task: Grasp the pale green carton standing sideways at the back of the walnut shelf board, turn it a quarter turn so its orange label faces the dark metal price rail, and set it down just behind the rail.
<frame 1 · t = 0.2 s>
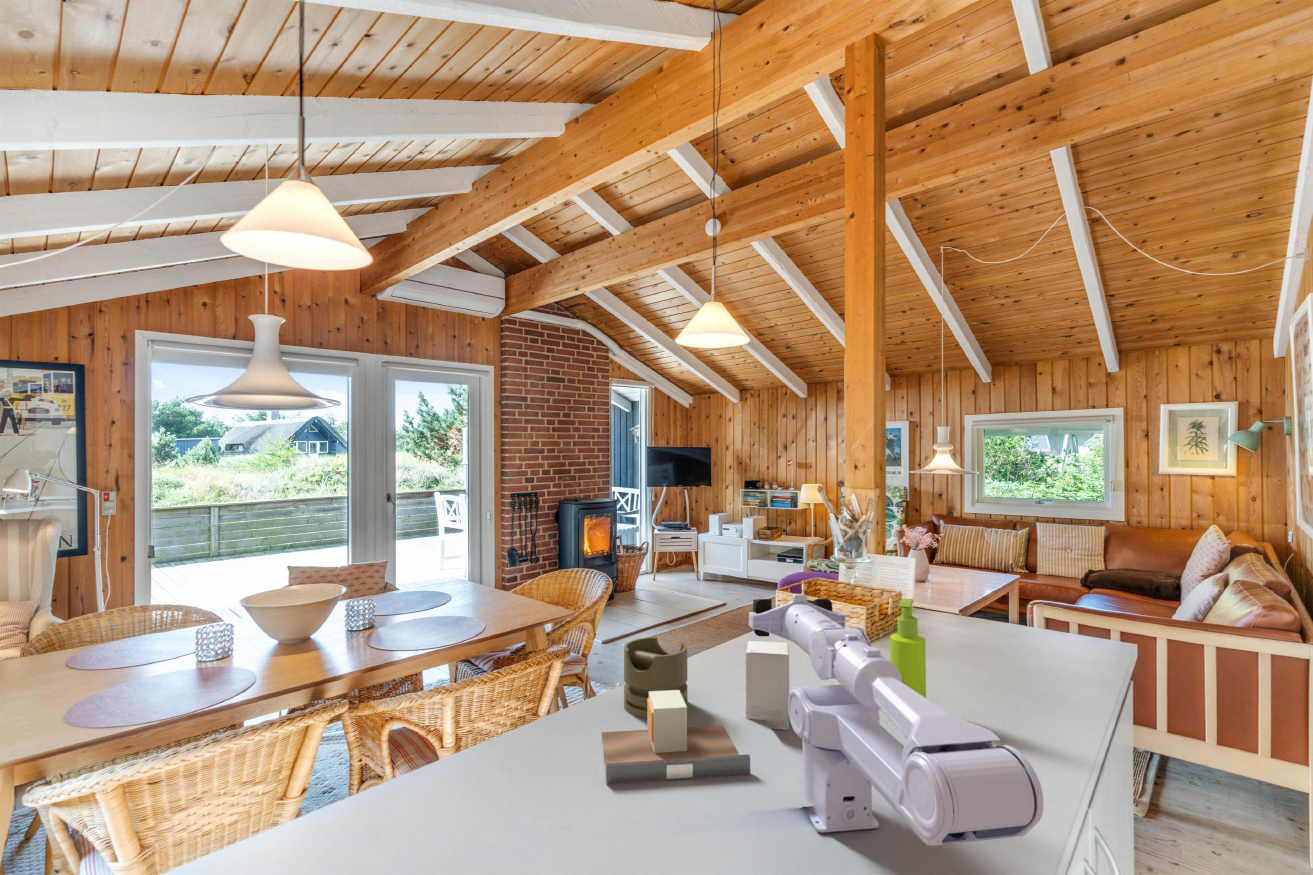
hand: (777, 605, 101), 22 cm above the table, tool horizontal, fingers open, 7 cm apart
soap dispenser: (908, 712, 111), on the table
carton: (651, 742, 96), point 1 cm above the table, touching shelf board
supplement box: (767, 721, 108), on the table
price rail: (679, 769, 85), on the shelf board, point 2 cm above the table
shelf board: (670, 761, 93), on the table
piston: (655, 715, 110), on the table
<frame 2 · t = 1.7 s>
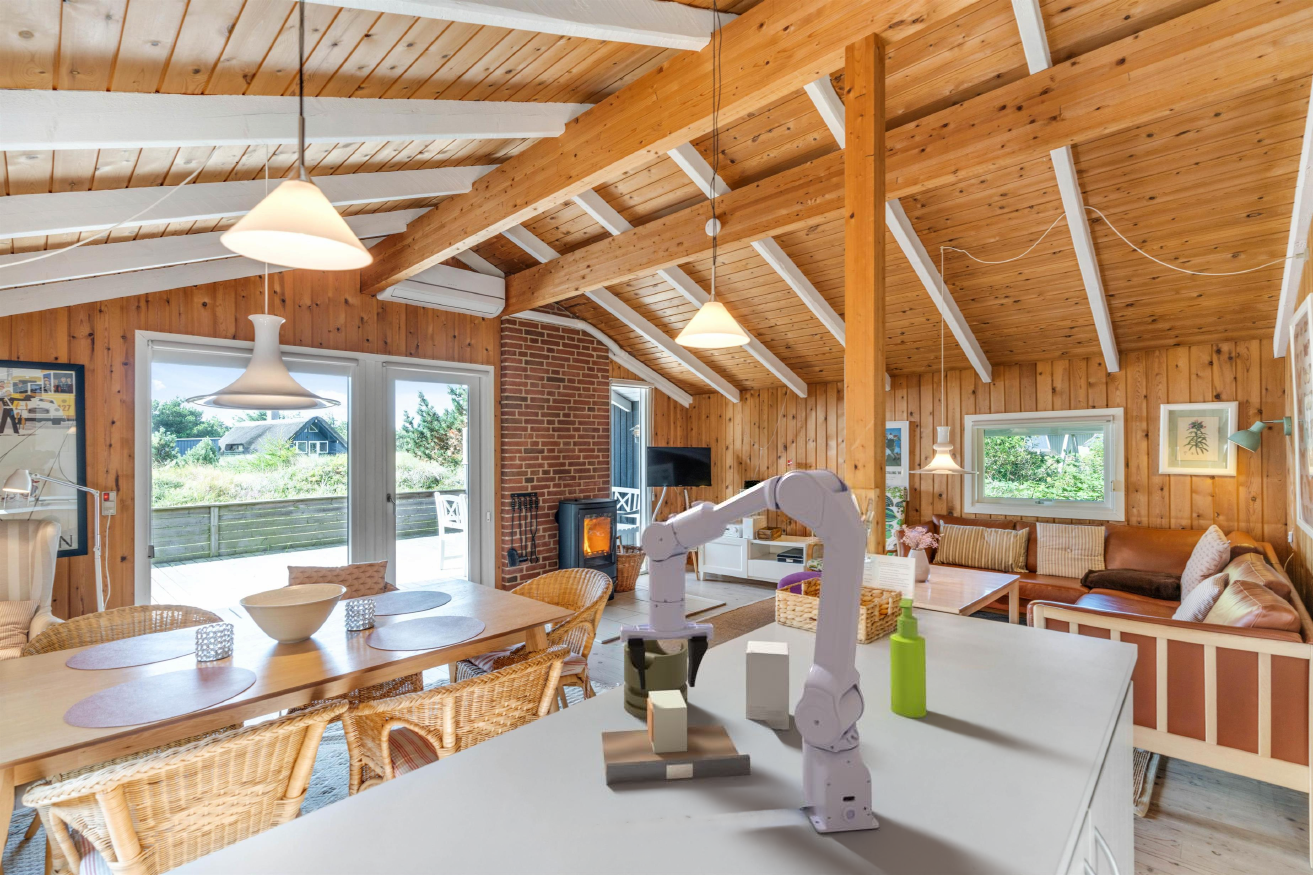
hand: (667, 685, 97), 10 cm above the table, tool pointing down, fingers open, 7 cm apart
nothing on the table moved.
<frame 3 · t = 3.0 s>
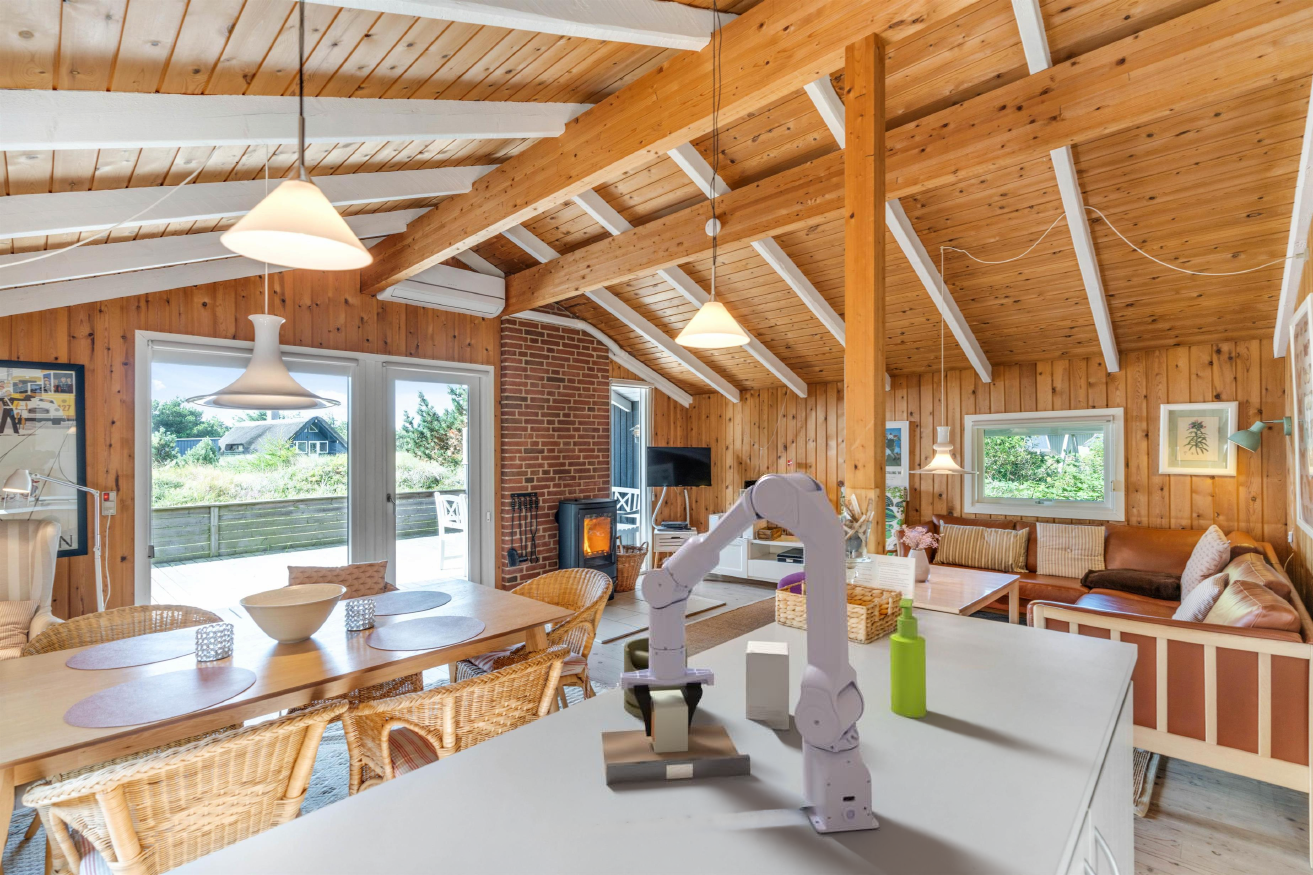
hand: (667, 732, 97), 3 cm above the table, tool pointing down, fingers closed on carton, 5 cm apart
carton: (652, 741, 96), point 2 cm above the table, touching gripper, shelf board
everything else where it was.
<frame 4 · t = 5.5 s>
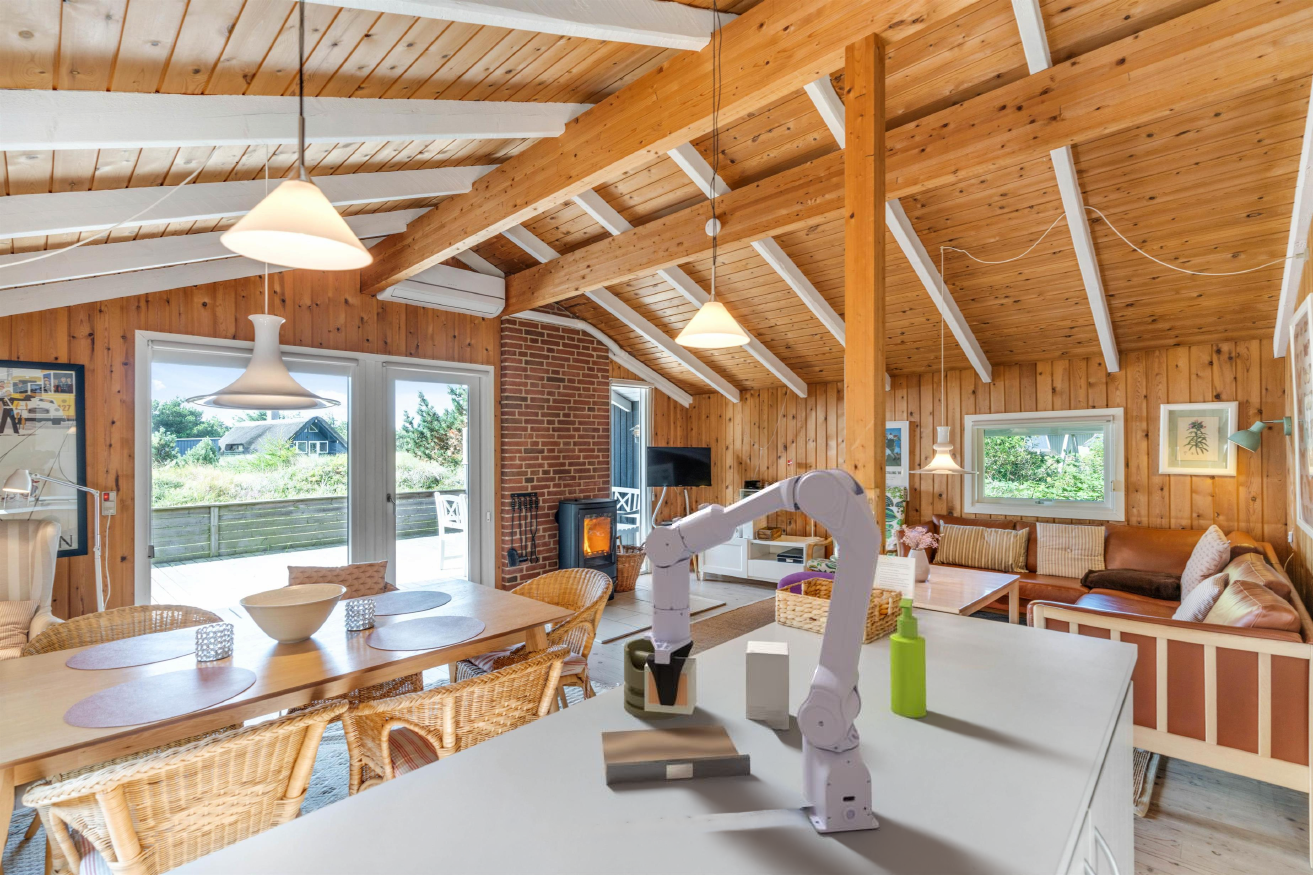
hand: (671, 696, 93), 10 cm above the table, tool pointing down, fingers closed on carton, 5 cm apart
carton: (667, 712, 91), point 8 cm above the table, touching gripper
everything else where it was.
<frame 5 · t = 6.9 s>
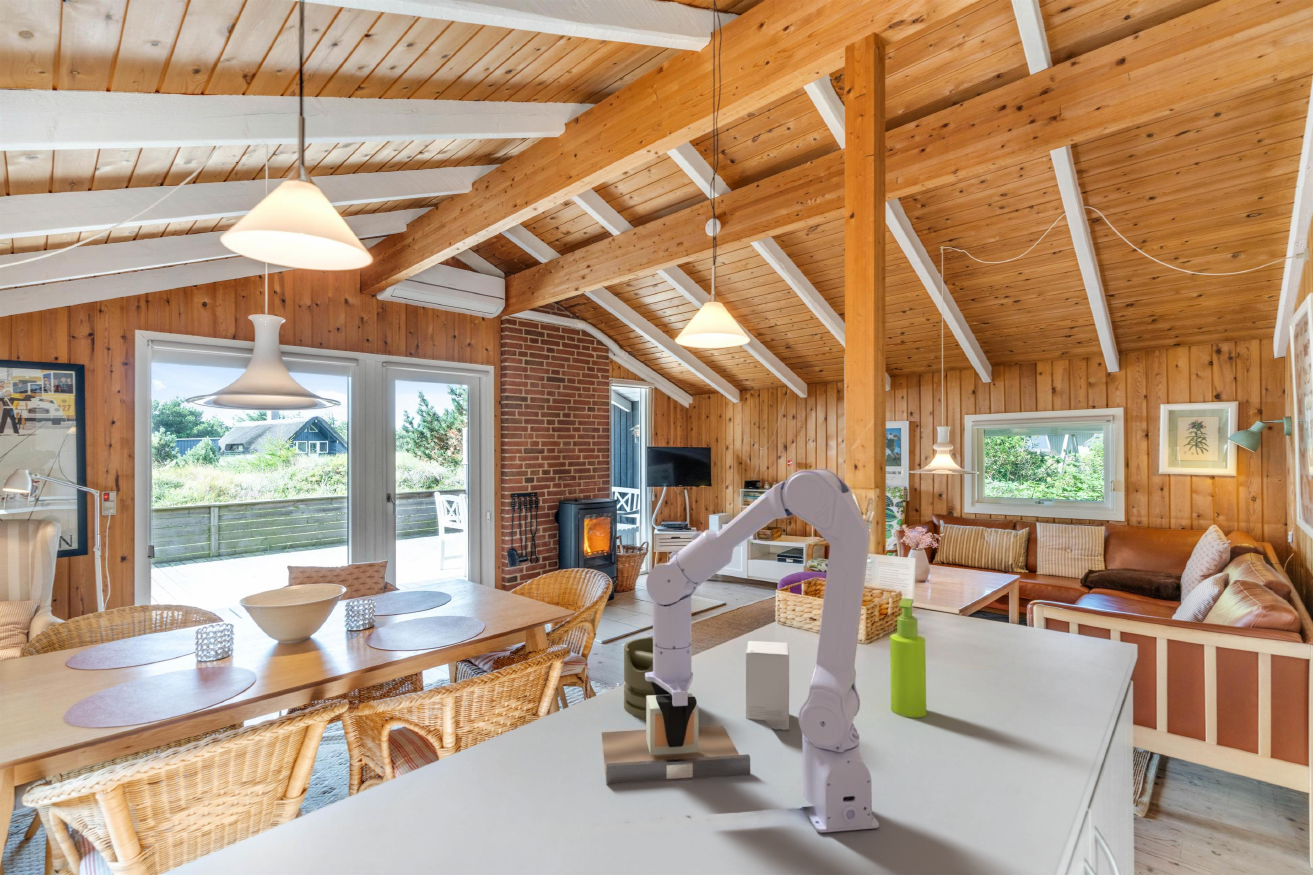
hand: (672, 736, 91), 5 cm above the table, tool pointing down, fingers closed on carton, 5 cm apart
carton: (674, 753, 89), point 3 cm above the table, touching gripper
everything else where it was.
when the fingers open (4 cm above the table, at t = 7.9 s): carton drops 1 cm, resting on shelf board.
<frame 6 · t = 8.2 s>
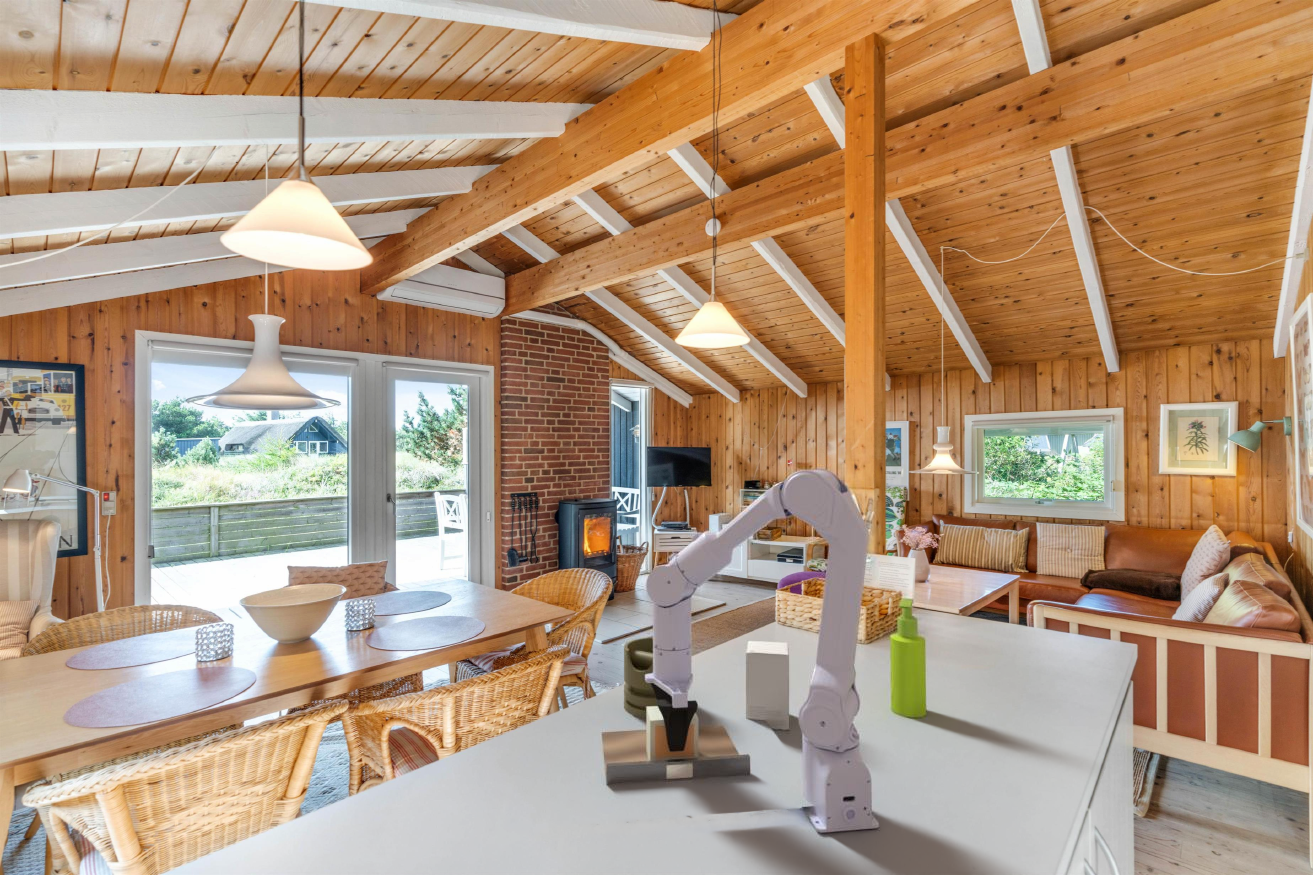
hand: (672, 737, 91), 4 cm above the table, tool pointing down, fingers open, 7 cm apart
carton: (674, 765, 89), point 1 cm above the table, touching shelf board
everything else where it was.
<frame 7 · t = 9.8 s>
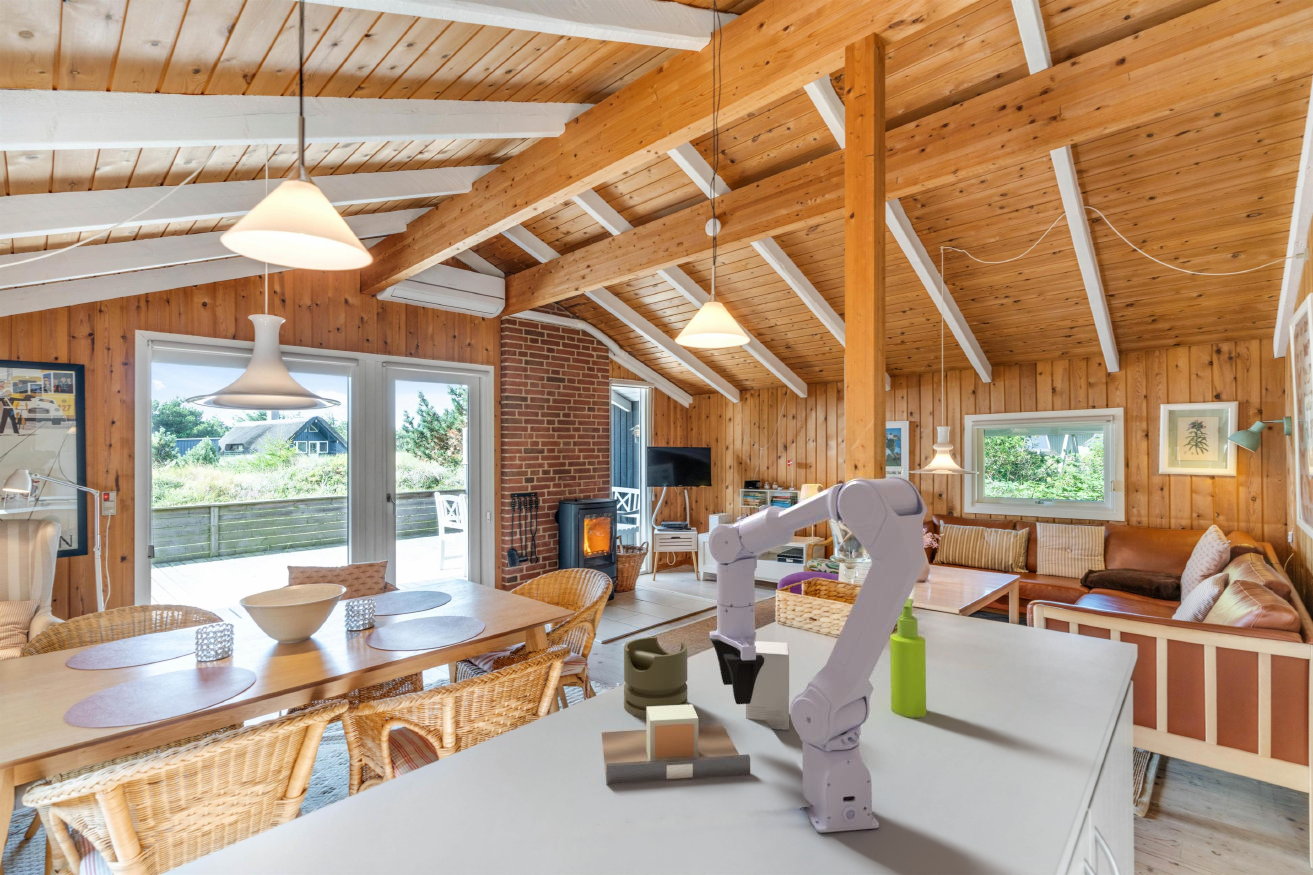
hand: (736, 693, 94), 10 cm above the table, tool pointing down, fingers open, 7 cm apart
nothing on the table moved.
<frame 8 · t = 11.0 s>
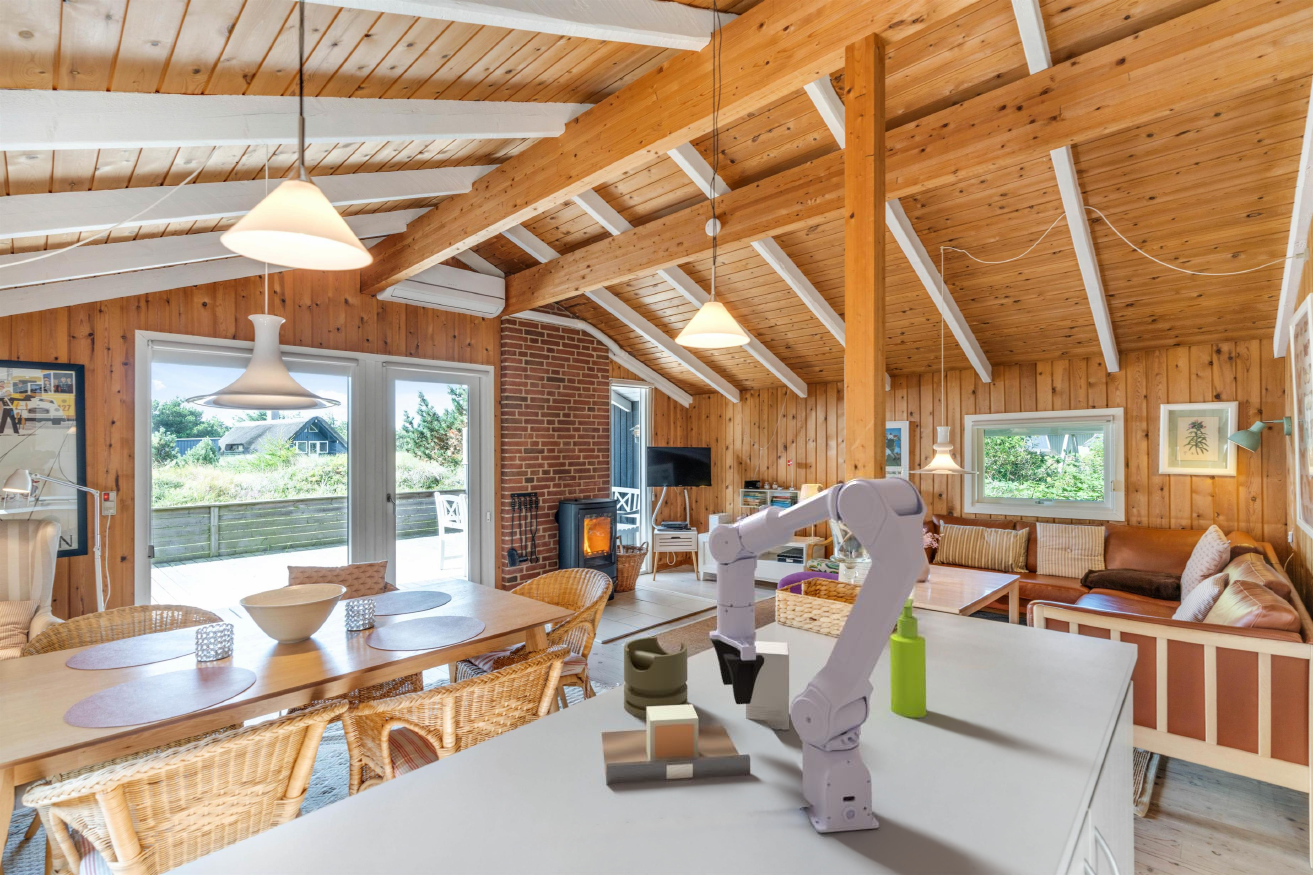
hand: (736, 693, 94), 10 cm above the table, tool pointing down, fingers open, 7 cm apart
nothing on the table moved.
at the end: carton 0.2 cm from the target spot, point 1.5 cm above the table; carton tilted 0°; the gripper is holding nothing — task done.
